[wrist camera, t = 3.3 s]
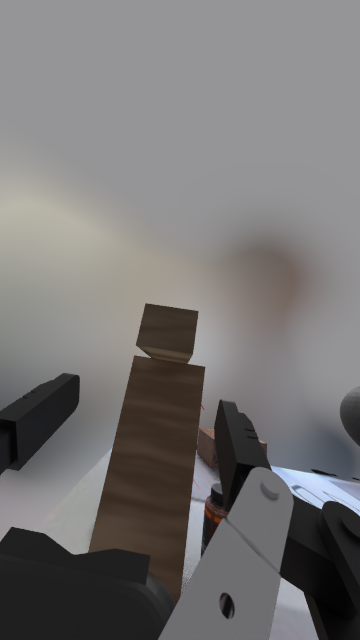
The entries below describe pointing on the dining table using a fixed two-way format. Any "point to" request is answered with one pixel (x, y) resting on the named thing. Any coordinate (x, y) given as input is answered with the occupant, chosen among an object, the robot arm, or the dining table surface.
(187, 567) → the dining table surface
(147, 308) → the brown wooden bar
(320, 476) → the dining table surface
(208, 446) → the tissue box cover
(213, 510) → the supplement bottle
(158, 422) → the stand
